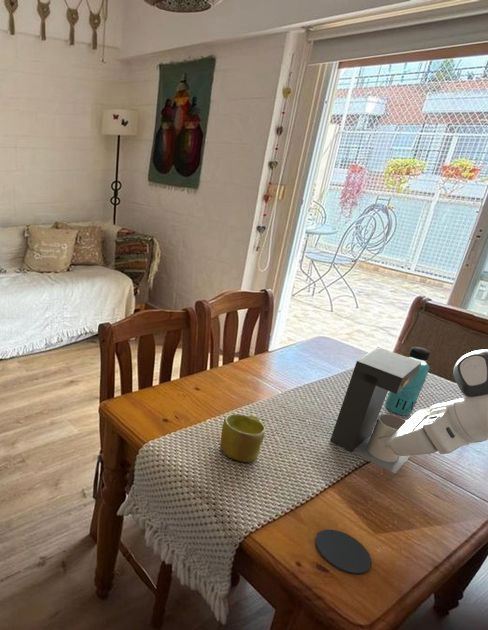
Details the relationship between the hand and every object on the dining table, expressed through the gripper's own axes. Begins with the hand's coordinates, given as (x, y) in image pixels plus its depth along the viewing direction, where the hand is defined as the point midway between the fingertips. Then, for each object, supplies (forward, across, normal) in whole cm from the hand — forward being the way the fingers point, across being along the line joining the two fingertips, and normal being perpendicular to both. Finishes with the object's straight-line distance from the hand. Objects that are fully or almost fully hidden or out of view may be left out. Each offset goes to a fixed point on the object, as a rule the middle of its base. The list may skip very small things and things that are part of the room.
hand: (385, 435), depth 104 cm
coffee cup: (+3, 0, +4) cm, 5 cm away
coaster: (0, +35, +9) cm, 36 cm away
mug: (+19, +25, -10) cm, 33 cm away
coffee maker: (+6, 0, +3) cm, 6 cm away
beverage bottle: (+7, -24, +2) cm, 25 cm away
